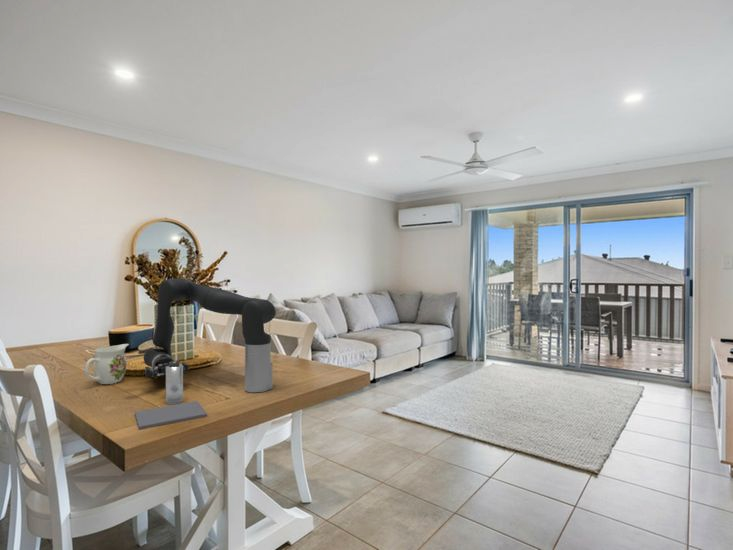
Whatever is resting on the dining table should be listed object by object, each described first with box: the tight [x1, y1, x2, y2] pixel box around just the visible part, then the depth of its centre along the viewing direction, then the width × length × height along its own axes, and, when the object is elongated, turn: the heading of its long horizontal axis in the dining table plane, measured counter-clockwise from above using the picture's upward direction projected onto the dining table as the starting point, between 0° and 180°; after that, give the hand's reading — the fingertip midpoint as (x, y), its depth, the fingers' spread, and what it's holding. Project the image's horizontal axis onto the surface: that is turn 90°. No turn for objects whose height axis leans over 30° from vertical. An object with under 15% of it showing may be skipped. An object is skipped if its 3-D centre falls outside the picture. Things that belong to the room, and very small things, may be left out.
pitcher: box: [84, 343, 130, 385], centre depth 155 cm, size 11×18×14 cm, turn 162°
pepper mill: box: [165, 359, 184, 405], centre depth 134 cm, size 5×5×14 cm
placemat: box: [134, 400, 208, 430], centre depth 122 cm, size 18×14×1 cm
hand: (169, 373), depth 143 cm, fingers open, 8 cm apart
